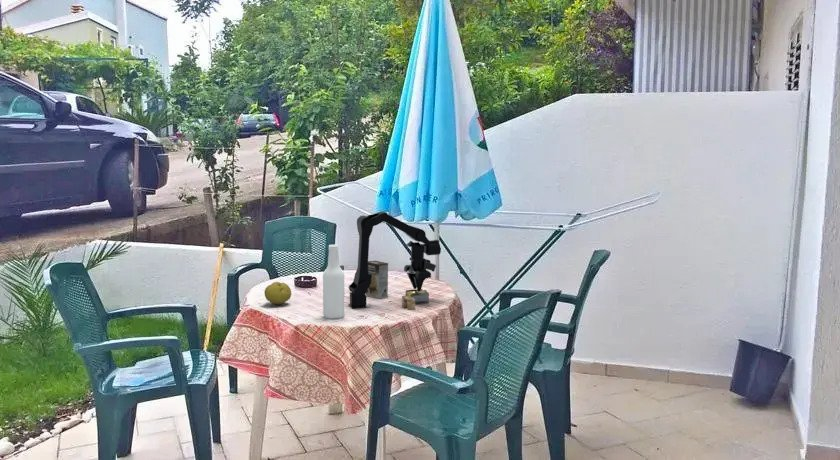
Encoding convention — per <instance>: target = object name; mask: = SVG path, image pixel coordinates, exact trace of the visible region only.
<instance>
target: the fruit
mask: <svg viewBox="0 0 840 460" xmlns="http://www.w3.org/2000/svg"><path fill="white" fill-rule="evenodd" d="M291 296H292V290H291V287H290V286H289V285H288V284H287V283H285V282H279V281H275V282H272V283H271V284H269V285H267V286H266V287H265V289H264V297H265V299H266V300H267V302H269V303H271V304H273V305H275V306H277V305H278V306H279V305H282V304H283V305H284V303H286V302H287V301H289V300H290V299H291Z"/></svg>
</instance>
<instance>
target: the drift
mask: <svg viewBox="0 0 840 460" xmlns="http://www.w3.org/2000/svg"><path fill="white" fill-rule="evenodd" d="M401 304H402V305H401V308H403V309H405V310H406V309H407V302H402V301H401ZM407 310H408V309H407Z"/></svg>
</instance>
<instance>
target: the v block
mask: <svg viewBox="0 0 840 460" xmlns="http://www.w3.org/2000/svg"><path fill="white" fill-rule="evenodd" d="M421 290H424V289H423V288H421ZM410 291H418V290H417V289H409V290H407V289H406V290H405V294H406V293H407V292H410ZM411 297H412V298H414V299H415V305H420V304H429V303H430V293H429V292H428V291H427V292H426V293H413V294H411Z"/></svg>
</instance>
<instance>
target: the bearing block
mask: <svg viewBox="0 0 840 460" xmlns="http://www.w3.org/2000/svg"><path fill="white" fill-rule="evenodd" d="M402 302H407V310H408V311H412V310H416V304H415V299H414V298H412V297H411V296H409V295H406V294H405V295H401V303H402Z"/></svg>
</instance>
